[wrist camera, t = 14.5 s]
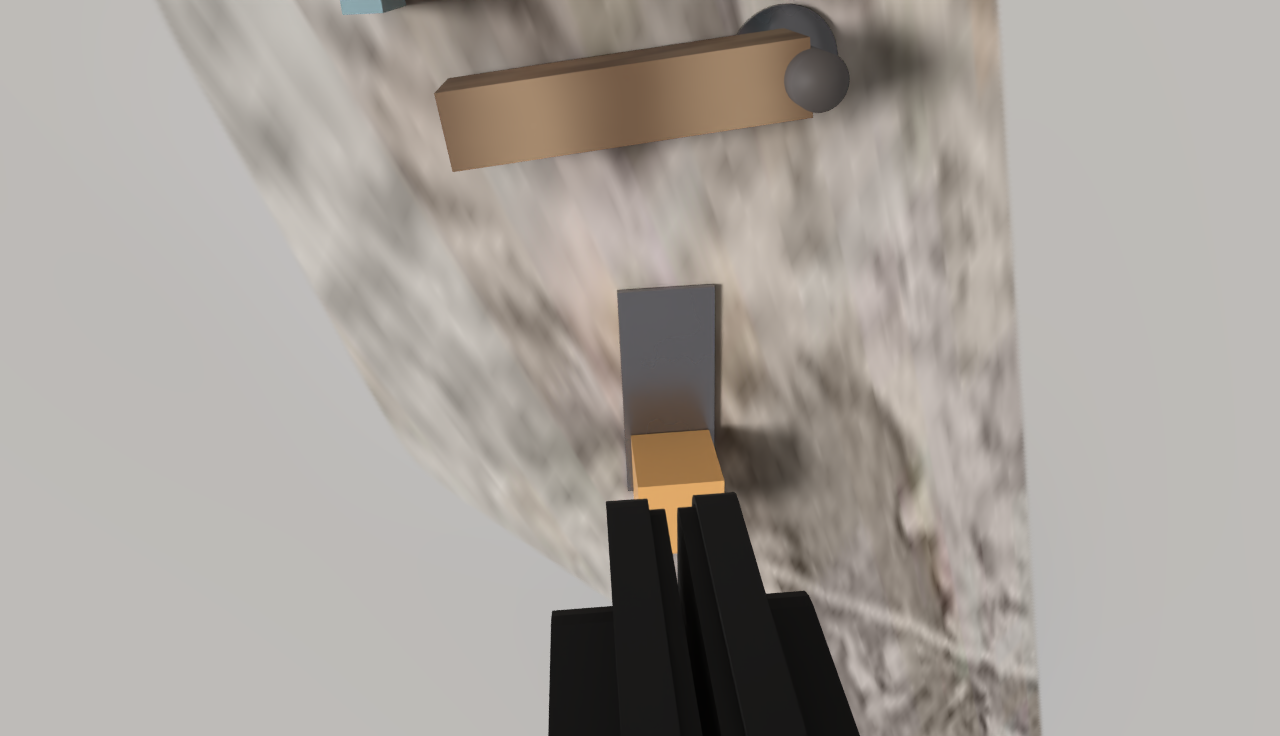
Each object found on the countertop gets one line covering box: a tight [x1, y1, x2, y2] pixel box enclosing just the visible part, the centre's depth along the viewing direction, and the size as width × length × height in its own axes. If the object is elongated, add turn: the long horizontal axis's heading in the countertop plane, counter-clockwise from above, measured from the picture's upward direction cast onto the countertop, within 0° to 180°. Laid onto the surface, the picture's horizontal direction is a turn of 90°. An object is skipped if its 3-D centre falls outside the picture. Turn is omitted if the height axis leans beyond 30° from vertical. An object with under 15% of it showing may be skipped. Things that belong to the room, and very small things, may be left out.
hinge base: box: [737, 4, 838, 56], centre depth 30 cm, size 4×4×1 cm
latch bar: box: [434, 28, 849, 172], centre depth 28 cm, size 13×2×5 cm, turn 98°
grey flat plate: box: [617, 284, 715, 491], centre depth 36 cm, size 10×4×1 cm, turn 2°
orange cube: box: [631, 430, 724, 554], centre depth 36 cm, size 4×4×4 cm
